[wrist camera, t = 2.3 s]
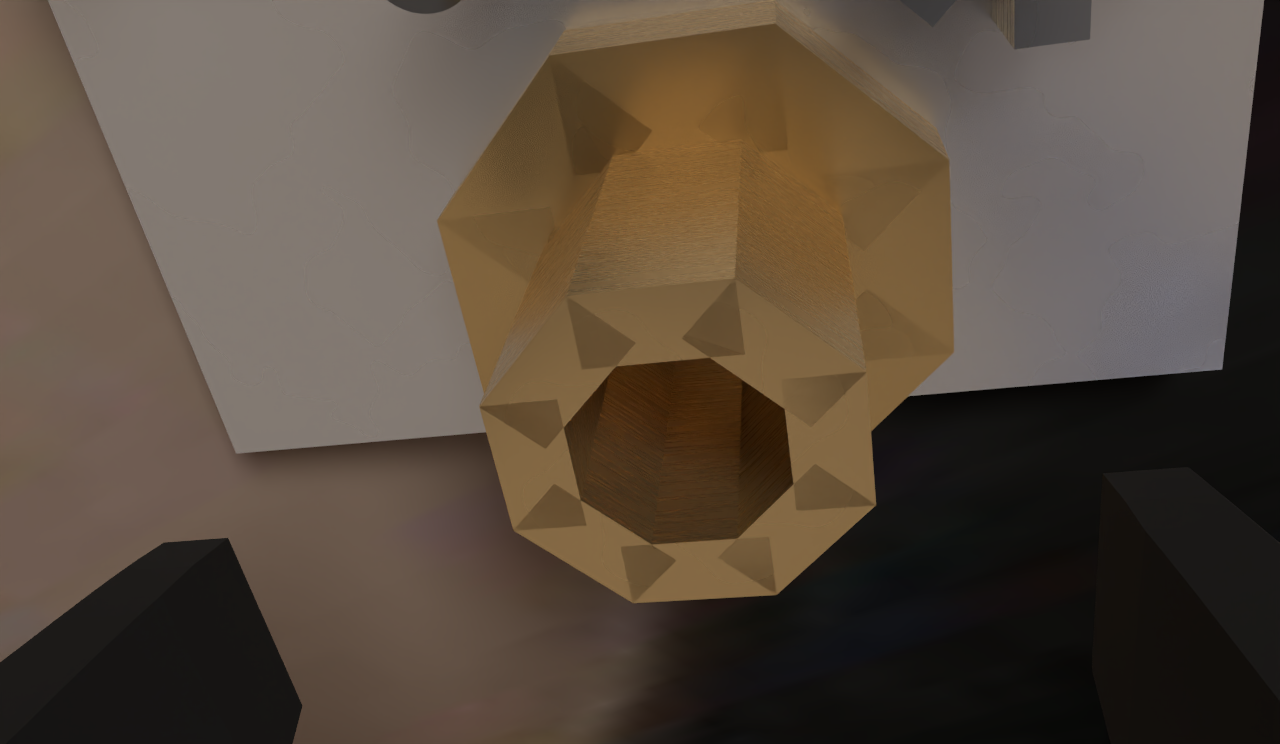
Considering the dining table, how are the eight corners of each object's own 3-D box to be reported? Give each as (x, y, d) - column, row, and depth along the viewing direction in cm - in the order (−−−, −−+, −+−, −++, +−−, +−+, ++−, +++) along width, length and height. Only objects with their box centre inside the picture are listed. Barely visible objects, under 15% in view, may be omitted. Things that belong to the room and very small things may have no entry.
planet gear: (945, 421, 16) (1008, 671, 12) (527, 455, 18) (452, 696, 13) (931, -23, 13) (1011, 104, 9) (424, 50, 14) (279, 195, 10)
